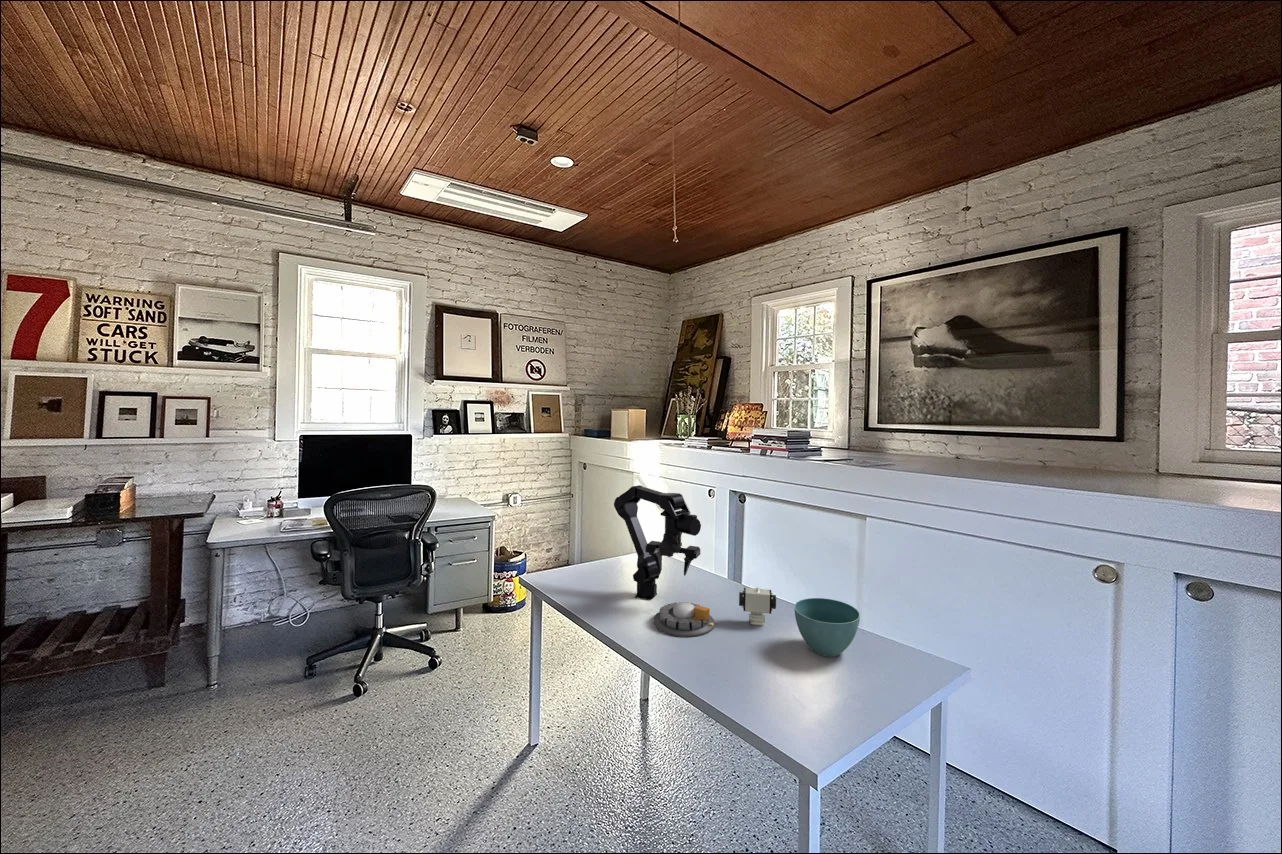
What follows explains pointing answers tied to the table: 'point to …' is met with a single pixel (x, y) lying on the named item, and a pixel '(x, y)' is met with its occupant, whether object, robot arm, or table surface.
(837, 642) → the teal hollow rounded piece
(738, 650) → the table surface
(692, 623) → the grey toothed bowl
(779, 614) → the table surface
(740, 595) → the pneumatic valve
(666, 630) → the cap base
